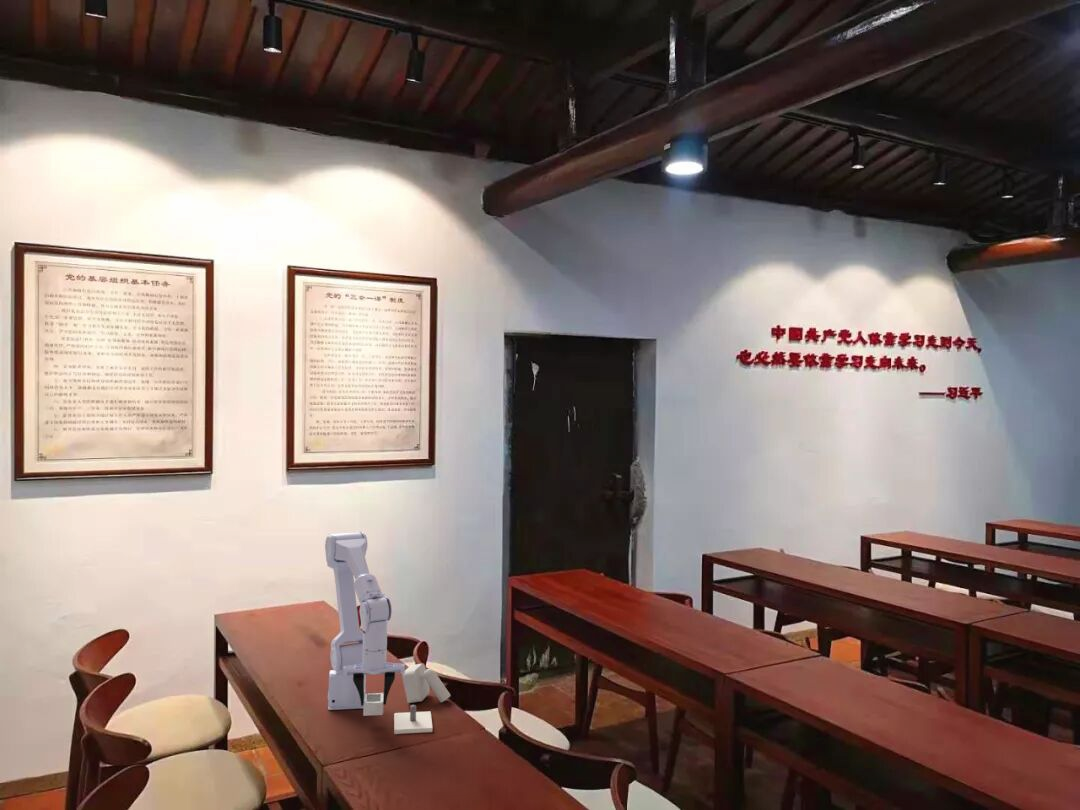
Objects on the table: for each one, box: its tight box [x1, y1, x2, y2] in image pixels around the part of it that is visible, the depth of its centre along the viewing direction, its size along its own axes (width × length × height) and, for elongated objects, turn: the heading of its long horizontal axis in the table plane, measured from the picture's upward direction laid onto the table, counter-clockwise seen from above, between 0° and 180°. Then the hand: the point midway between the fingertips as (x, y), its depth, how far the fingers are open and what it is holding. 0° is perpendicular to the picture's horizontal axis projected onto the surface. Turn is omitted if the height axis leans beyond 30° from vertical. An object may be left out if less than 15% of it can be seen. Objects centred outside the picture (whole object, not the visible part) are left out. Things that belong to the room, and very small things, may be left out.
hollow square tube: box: [362, 692, 384, 717], centre depth 196 cm, size 6×5×3 cm
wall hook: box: [401, 663, 451, 704], centre depth 213 cm, size 8×10×10 cm
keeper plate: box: [393, 704, 433, 735], centre depth 198 cm, size 9×10×4 cm
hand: (373, 703), depth 196 cm, fingers closed on hollow square tube, 5 cm apart
